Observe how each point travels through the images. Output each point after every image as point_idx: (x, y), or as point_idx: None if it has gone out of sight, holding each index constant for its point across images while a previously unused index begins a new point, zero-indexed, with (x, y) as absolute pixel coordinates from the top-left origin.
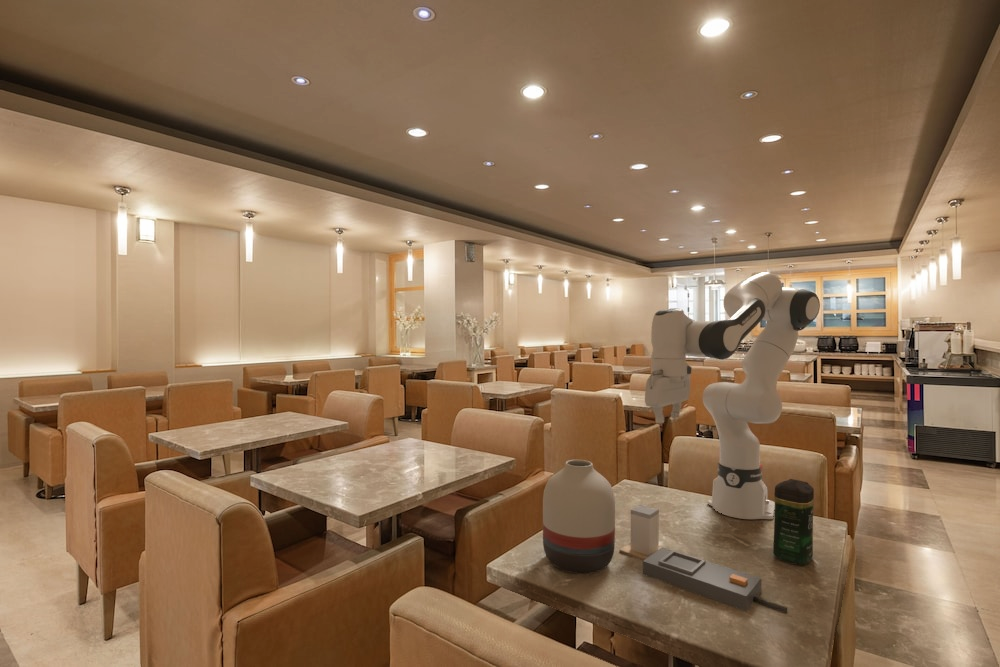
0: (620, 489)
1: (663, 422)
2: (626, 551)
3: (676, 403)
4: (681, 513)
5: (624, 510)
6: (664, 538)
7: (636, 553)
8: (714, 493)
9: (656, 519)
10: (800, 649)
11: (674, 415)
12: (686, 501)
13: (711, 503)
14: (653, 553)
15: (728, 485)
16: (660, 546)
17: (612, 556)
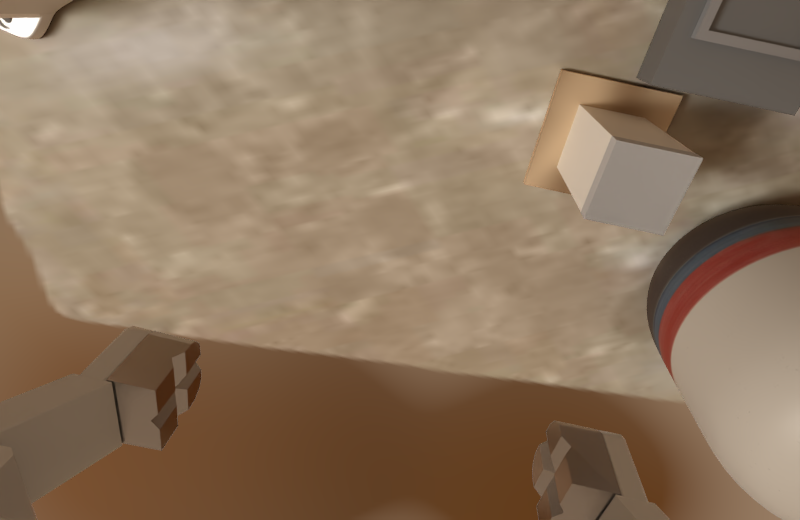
0: (138, 319)
1: (559, 422)
2: None
3: (4, 517)
4: (200, 107)
5: (299, 269)
6: (457, 109)
7: None
8: (7, 5)
9: (626, 135)
10: None
11: (174, 386)
12: (71, 116)
13: (41, 17)
14: (717, 98)
15: None
16: (552, 103)
17: (776, 205)
